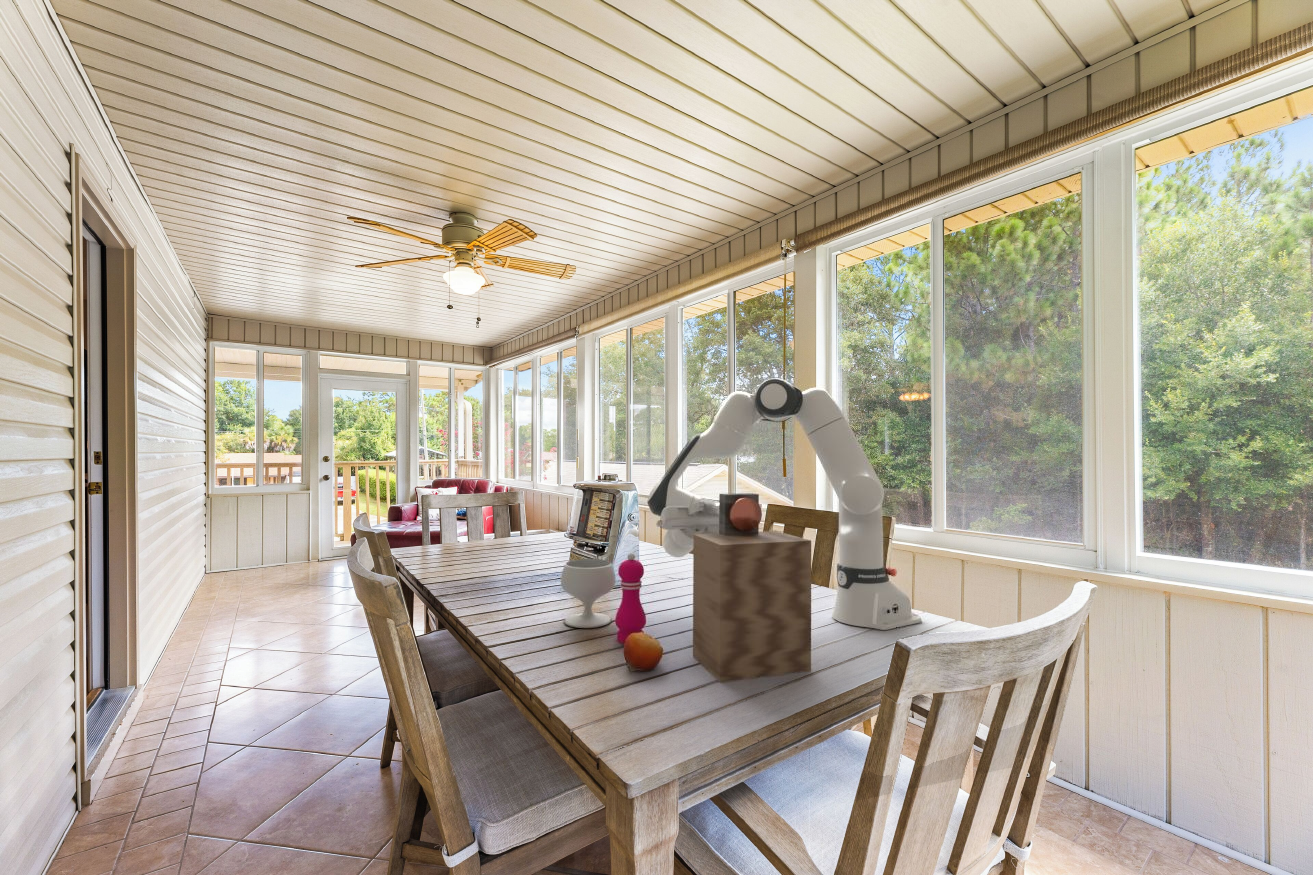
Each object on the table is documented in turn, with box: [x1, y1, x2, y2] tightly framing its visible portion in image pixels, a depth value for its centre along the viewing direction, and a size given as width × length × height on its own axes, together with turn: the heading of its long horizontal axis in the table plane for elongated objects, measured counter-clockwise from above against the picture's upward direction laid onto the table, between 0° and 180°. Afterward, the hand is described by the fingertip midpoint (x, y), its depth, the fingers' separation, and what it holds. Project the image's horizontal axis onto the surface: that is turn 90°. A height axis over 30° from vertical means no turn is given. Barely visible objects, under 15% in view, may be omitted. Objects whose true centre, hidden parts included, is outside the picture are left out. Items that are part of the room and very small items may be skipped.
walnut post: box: [692, 492, 812, 683], centre depth 116 cm, size 20×14×35 cm
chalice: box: [560, 558, 617, 629], centre depth 143 cm, size 14×14×15 cm
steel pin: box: [698, 497, 763, 531], centre depth 130 cm, size 7×25×7 cm, turn 18°
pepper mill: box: [614, 552, 647, 644], centre depth 130 cm, size 7×7×20 cm
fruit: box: [622, 632, 664, 675], centre depth 113 cm, size 8×8×8 cm
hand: (709, 503), depth 137 cm, fingers closed on steel pin, 3 cm apart
